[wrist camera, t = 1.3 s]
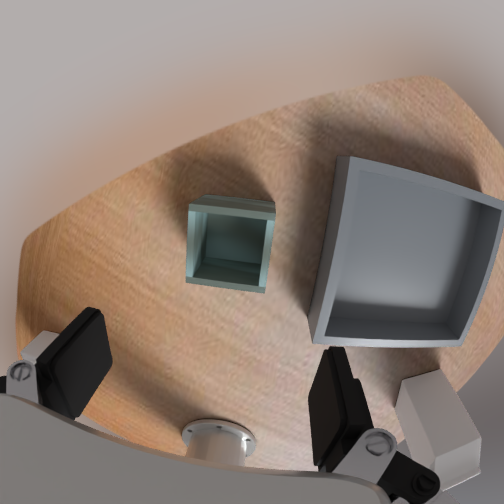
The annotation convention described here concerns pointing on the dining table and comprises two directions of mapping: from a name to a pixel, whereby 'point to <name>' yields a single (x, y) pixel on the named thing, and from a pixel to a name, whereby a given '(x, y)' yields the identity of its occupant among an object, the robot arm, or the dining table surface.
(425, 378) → the milk carton
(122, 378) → the dining table surface
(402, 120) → the dining table surface
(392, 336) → the charcoal crate
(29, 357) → the medicine bottle
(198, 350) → the dining table surface
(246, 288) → the teal crate
